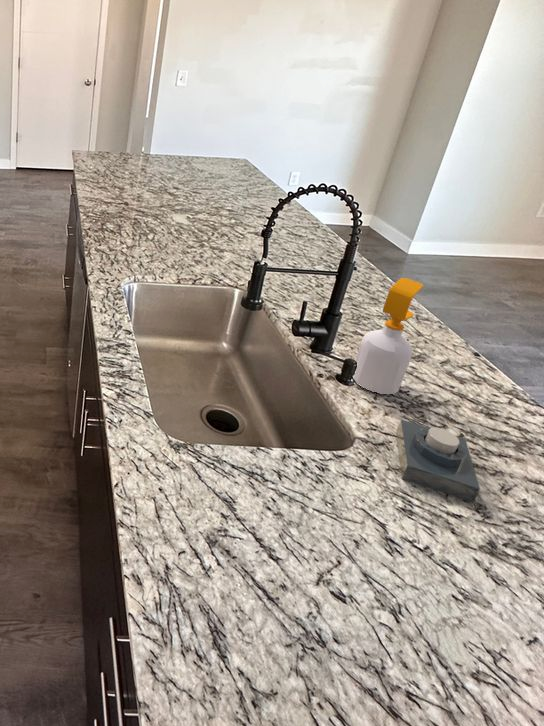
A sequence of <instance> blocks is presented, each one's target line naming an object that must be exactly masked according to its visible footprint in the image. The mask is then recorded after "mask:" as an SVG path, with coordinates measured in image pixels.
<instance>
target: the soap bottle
mask: <svg viewBox="0 0 544 726" xmlns="http://www.w3.org/2000/svg"><path fill="white" fill-rule="evenodd" d="M423 288H424V284H422V283H421V282H418V281H415V280H413V279H410V278H407V277H400V278H399V279H398V280H397V281H396V282H395V283H394V284H392V285H391V287H390V289H389V291H388V293H387V296H386V299H385V301H384V304H383V308H382V312H383V313H385V314H388V315H389V317H390V318H391V319H387V320H386V321H385V322H384V325H383V328H382V329H374V330H370V331H367V332H366V333H365V334H364V335H363V337H362V340H361V343H360V346H359V349H358V352H357V354H356V358H355V361H356V362H357V369H356V371H355V377H354V379H355V381H356V382H357V383H358V384H360V385H361V386H363V387H364V388H367V389H369V390H371V391H372V392H377V393H380V394H393V395H395V394H397V393H398V392H399V391H400V388H401V385H402V383H403V380H404V377H405V375H406V372H407V369H408V367H409V365H410V362H411V360H412V357H413V346H412V345H411V343H410V341H409V340H408V339H406V337H404V336H403V335H402V334H403V331H404V329H405V325H404V324H402V322H404V321H405V322H406V321H407V320H409V319H411V318H412V317H414V315H415V314H414V312H412V311H410V310H409V308H410V306H411V304H412V301H413V299H414V298H415V296H416V295H417V294H418V293H419V292H420V291H421V290H422V289H423ZM355 361H354V362H355ZM372 392H371V393H372Z"/></svg>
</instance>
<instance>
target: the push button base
mask: <svg viewBox="0 0 544 726" xmlns="http://www.w3.org/2000/svg"><path fill="white" fill-rule="evenodd" d="M431 428H432V427H429V426H425V425H422V424H418V423H415V422H411V421H408V420H406V419H405V420H404V419H401V418H400V420H399V423H398V426H397V428H396V430H395V437H396V436H397V438H396V446H397V445H398V446H397V453H398V460H399V468H400V477H401V480H403V481H406V482H409V483H412V484H416V485H418V486H420V487H424V488H427V489H430V490H432V491H436V492H439V493H441V494H445V495H448V496H451V497H454V498H457V499H460V500H463V501H466V502H468V503H472V504H473V503H474V502H475V500H476V499H477V496H478V494H479V492H480V490H481V488H480V487H481V486H480V484H479V480H478V477H477V474H476V471H475V468H474V464H473V463H474V462H473V460H472V457H471V453H470V450H469V447H468V443H467V439H466V437H462V436H459V435H455V436H456V437H457V438H458V439H459V442H460V443H459V445H458V448H457V450H456V452H455V453H454V454H445V453H442V452H439V451H437V450H435V449H434V448H432V447H430V446H429V445H428V444H427V443H426V441H425V438H426V436H427V433H428V431H429V429H431Z"/></svg>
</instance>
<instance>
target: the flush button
mask: <svg viewBox="0 0 544 726" xmlns="http://www.w3.org/2000/svg"><path fill="white" fill-rule="evenodd" d="M430 428H431V429H429V431H428V433H427V436H426V438H425V441H426V443H427V444H428V445H429V446H430V447H432V448H434V449H435V450H437V451H439V452H442V453H445V454H454V453H455V452H456V450H457V448H458V445H459V443H460V442H459V439H458V438H457V437H456V436H457V435H456V434H454V433H452V432H451V431H449V430H447V429H445V428H441V427H430Z"/></svg>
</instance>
